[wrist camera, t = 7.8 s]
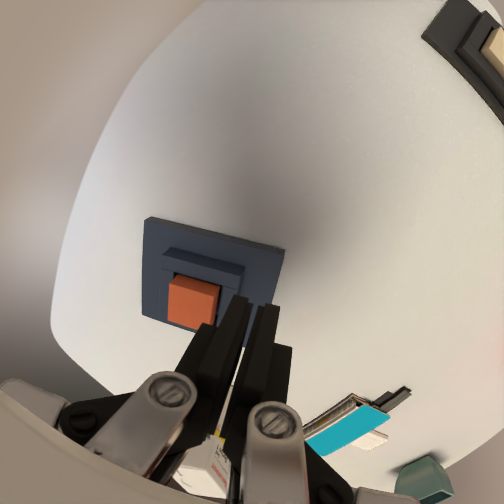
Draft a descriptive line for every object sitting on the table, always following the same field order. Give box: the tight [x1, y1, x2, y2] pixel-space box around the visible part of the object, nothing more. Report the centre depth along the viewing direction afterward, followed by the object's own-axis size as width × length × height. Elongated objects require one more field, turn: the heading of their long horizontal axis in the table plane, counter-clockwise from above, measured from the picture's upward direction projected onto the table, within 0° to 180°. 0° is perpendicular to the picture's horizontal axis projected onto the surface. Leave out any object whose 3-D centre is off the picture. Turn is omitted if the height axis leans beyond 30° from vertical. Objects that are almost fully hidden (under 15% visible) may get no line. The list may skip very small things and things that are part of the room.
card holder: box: [303, 387, 412, 456], centre depth 30 cm, size 20×12×2 cm, turn 147°
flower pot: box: [394, 456, 455, 504], centre depth 29 cm, size 9×9×9 cm
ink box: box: [173, 386, 233, 498], centre depth 27 cm, size 8×5×12 cm, turn 12°
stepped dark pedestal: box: [421, 0, 504, 125], centre depth 12 cm, size 12×8×2 cm, turn 55°
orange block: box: [168, 274, 220, 330], centre depth 22 cm, size 4×4×2 cm
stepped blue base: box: [142, 217, 285, 347], centre depth 24 cm, size 12×10×3 cm
